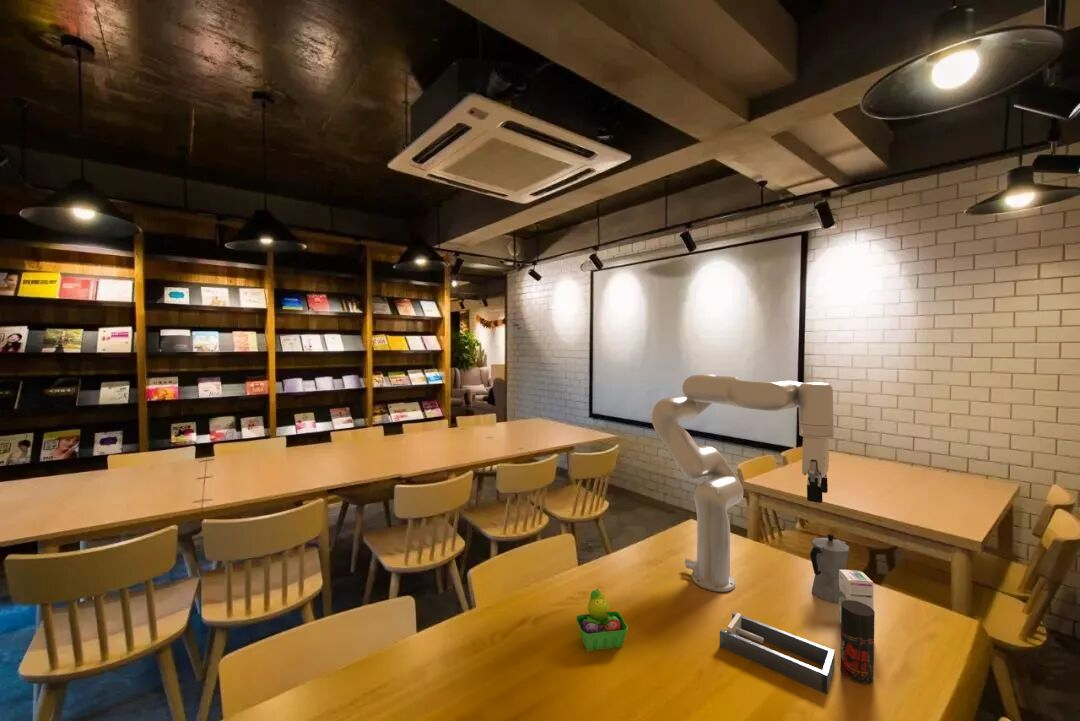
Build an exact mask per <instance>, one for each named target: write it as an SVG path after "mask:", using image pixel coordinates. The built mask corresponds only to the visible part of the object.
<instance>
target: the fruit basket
mask: <svg viewBox="0 0 1080 721" xmlns="http://www.w3.org/2000/svg"><path fill="white" fill-rule="evenodd" d="M610 609H611V608H610V604H609V602H608V600H607V599H606V596H605V594H604V592H602V591H601V590H599V589H593V590H592V591H591V593H590V598H589V601H588V603H587V611H588V613H586V614H578V615H576V617H575V618H576V623H577V624H578V628H579V632H580V636H581V639H582V642H583V644H584V647H585V650H586V651H587V652H590V651H598V650H599V651H600V650H604V649H607V650H608V649H613V648H621V647H623V646H624V645H623V644H624V641H625V638H626V635H627V633H628V630H629V627H628V625H627V624H626V622H625V621H624V619H623V617H622V615H621V613H620V612H619V611H618V610H615V611H610Z"/></svg>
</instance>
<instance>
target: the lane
mask: <svg viewBox="0 0 1080 721" xmlns="http://www.w3.org/2000/svg"><path fill="white" fill-rule="evenodd" d="M737 613H738V612H735V611H733V612H732V613H731V620H732V619H733V618H734V617H735V615H736V614H737ZM741 629H743V630H745V631H748V632H750V633H753V634H755V635H758V636H760V637H763V638H764V642H763V643H765V644H768V645H770V646H773V647H775V646H776V647H775V648H778V649H780V650H782V651H785V652H787V651H788V653H791V654H792V655H795V656H797V657H800V658H802V659H804V660H805V659H806V660H807V661H810V662H812V663H815V664H817V665H820V666H823V667H822V669H820V668H818V667H816V666H812V665H810V664H808V663H805V662H803V661H800V660H798V659H795V658H793V657H791V656H789V655H785V654H783V653H781V652H778V651H776V650H774V649H771V648H769V647H766V646H764V645H761V644H759V643H756V642H754V641H752V640H750V639H747V638H744V637H743V636H741V635H739V636H738V635H735V634H733V633H730V632H728V631H727V630H725V629H722V628H720V629H719V648H721V649H724V650H725V651H728V652H730V653H733V654H735V655H737V656H739V657H741V658H744V659H746V660H749V661H750V662H753V663H755V664H758V665H760V666H762V667H765V668H766V669H769V670H771V671H773V672H776V673H777V674H781V675H783V677H784V676H785V677H787V678H789V679H791V680H794V681H796V682H798V683H800V684H803V685H805V686H808V687H809V688H812V689H814V690H816V691H819V692H821V693H823V694H826V695H828V693H829V689H830V685H831V681H832V678H833V674H834V671H835V657H836V655H835V654H836V652H835V649H832V648H829V647H827V646H824V645H821V644H818V643H815V642H813V641H811V640H808V639H806V638H802V637H800V636H797V635H794V634H792V633H790V632H787V631H785V630H782V629H778V628H776V627H773V626H771V625H769V624H766V623H764V622H761V621H758V620H755V619H753V618H750V617H748V616H745V615H742V617H741Z"/></svg>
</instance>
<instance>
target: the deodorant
mask: <svg viewBox="0 0 1080 721" xmlns="http://www.w3.org/2000/svg"><path fill="white" fill-rule="evenodd" d="M874 660H875V610H873V609H872V608H871V607H869V606H868V605H866V604H864V603H861V602H858V601H853V600H844V601H842V603H841V625H840V671H841V673H842V674H843V675H844V676H845V677H846V678H847V679H849V680H850V681H852V682H855V683H856V684H861V685H872V684H873V683H874V677H875V676H874V673H875V672H874V669H875V668H874V666H875V665H874V664H875V661H874Z"/></svg>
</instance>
